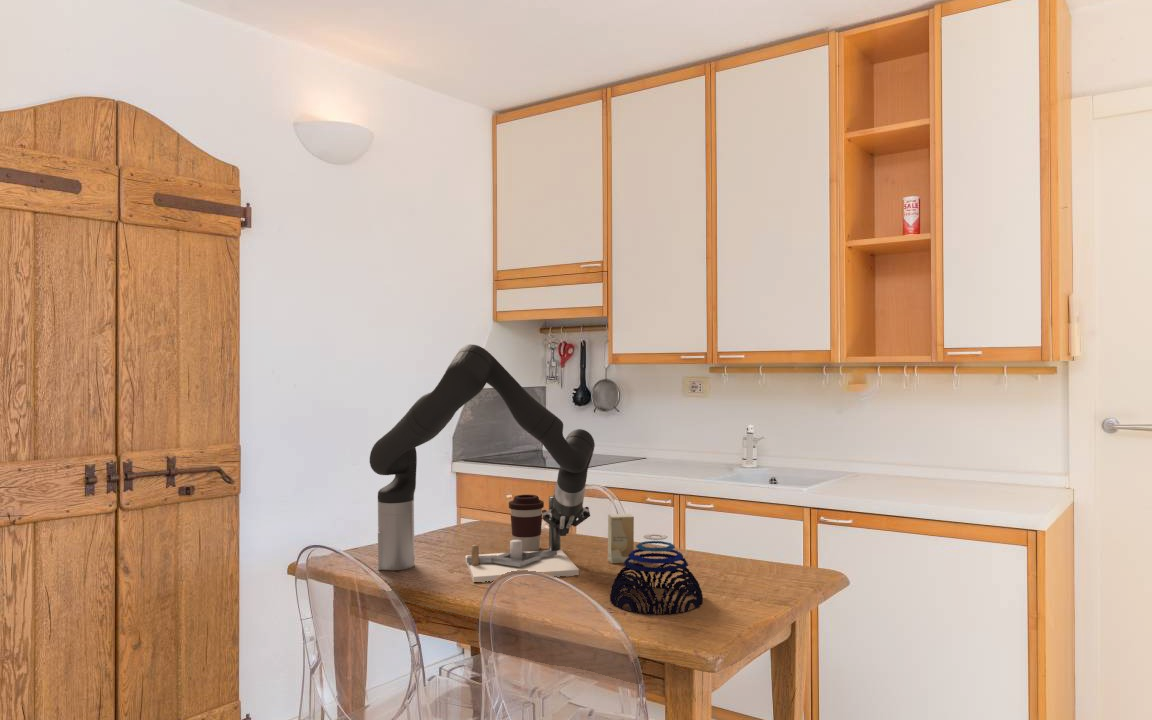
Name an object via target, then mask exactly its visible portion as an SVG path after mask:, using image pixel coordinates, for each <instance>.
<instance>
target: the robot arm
mask: <svg viewBox="0 0 1152 720" xmlns="http://www.w3.org/2000/svg"><path fill="white" fill-rule="evenodd" d="M486 385H489V386H490V387H491V388H493V389H494V390H495V391H496V392H497V393H498V395H499V396H500V397H501V399H502V400H503V401H504V403H505V404H506V407H507V408H508V410H509V411H510V414H511V415H512V417H513V419H514V420H515V421H516V423H517V424H518V426H519V427H521V428H522V429H523V430H524V431H525V432H527V433H528V434H529V435H530V436H532V437H534V439H535V440H537V441H538V442H540V443H541V444H542V445H543V447H544V448H545V450H546V451H547V452H548V454H550V456H551V457H552V458H553V460H554V461H555V462H556V463H557V465H559V468H558V474H557V479H556V483H555V486H554V490H553V491H554V493H553V496H554V499H553V505H552V506H551V507H550V510H549V509H548V510H546V509H542V512H541V514H542V521H544V522H546V523H547V524H548V526H549V525H551V526H552V527H553V528H557V527H558V528H557V529H558V534H560V537H566V536H567V535H568V534H569V533H570V528H571V527H577V526H579V525H580V524H582V523H583V522H585V521H586V520H587V519H588V518H590V517H591V512H590V507H589V506H583V505H584V499H585V494H586V484H587V483H586V482H587V477H588V470H589V466H590V464H591V460H592V457H593V455H594V451H595V445H596V444H595V443H596V442H595V440H594V439H595V438H594V437H593V436H592V434H591V433H590V432H589V431H587V430H586V429H582V428H577V429H575V430H572V431H570V432H569V433H568V435H566V438H565V436H564V435H563V432H564V422H563V421H562V420H561V419H560V418H559V417H558V416H556V415H555V414H554V413H553V412H552V411H550V410H549V409H548V408H546V407H545V406H543V405H542V404H541V403H540V402H539V401H538V400H536V399H535V398H534V397H533V396H532V395H531V394H529V392H527V391H526V390H525V388H524V387H523V386H522V385H521V384H520V383H519V382H518V381H517V380H516V378H514V377H513V375H512V374H510V373H509V372H508V370H507V369H506V368H505V367H504V366H503V365H502V364H501V363H500V362H499V361H498V360H497V359H496V358H495V357H494V356H493V354H492V353H490V352H489V351H488V350H487V349H485V348H484V347H482V346H480V345H478V344H471V343H470V344H465V345H464V346H462V347H461V348H460V349H459V350H458V352H457V353H456V354H455V356H454V357H453V359H452V360H451V362H450V363H449V365H448V367H447V368H446V370H445V371H444V374H443V376H442V378H441V379H440V381H439V382H438V384H436V386H435V388H434V389H433V390H432V391H431V392H428V393H426V394H423V396H420V397H419V399H417V400H416V402H414V404H413V405H412V406H411V407H410V408H409V410H407V412H406V413H405V414H404V415H403V417H402V418H401V419H400V420H399V421H398V422H397V423H396V424H395V425H394V426H393V427H392V428H391V429H389V431H388V432H387V433H386V434H384V435H383V436H382V437H380V439H379V438H378V440H377V441H376V442H375V443H374V444H373V446H372V448H371V451H370V452H369V453H370V454H369V466H370V468H371V469H372V471H373V472H374V473H375V474H377V475H380V476H392V475H395V476H394V478H393V480H391V482H390V483H388V484H387V485H385V486H383V487H382V488H380V489H379V490H378V492H377V557H378V558H377V570H379V571H380V570H381V571H382V570H384V571H399V570H402V571H403V570H406V569H410V568H413V567H414V566H415V565H416V564H415V563H416V562H415V560H416V559H415V557H416V556H415V492H416V488H417V487H416V485H417V467H418V465H417V464H418V463H417V462H418V457H417V449H416V447H419V446H422V445H424V444H426V443H427V442H431V440H433V439H434V438H435V437H436V436H438V435H439V434H440V433H441V432H442V431H443V430H444V428H446V426H447V425H448V424H449V423H450V421H451V420H452V419H453V417H454V416H455V415H456V413H457V412H458V411H459V410H460V409H461V408H462V407H463V406H464V405H466V404H467V403H468V402H469V401H471V400H472V399H474V398H475V397H477V395H479V394H480V393H481V392H482V391H483V389H484V388H485V386H486ZM555 517H556V518H557V519H558V520H557V519H556V518H555Z"/></svg>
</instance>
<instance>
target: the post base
mask: <svg viewBox="0 0 1152 720" xmlns="http://www.w3.org/2000/svg"><path fill="white" fill-rule="evenodd" d="M479 547H480V546H479V544H472V545H471V554H467V555H465V564H466V565H467V568H468V572H469V574H471V575H470V577H471V580H472V582H482V583H492V581H493V580H494V579H496V578H497V577H499V576H501V575H502V574H505V573H507V572H511V571H517V570H528V571H536V572H542V573H547V574H549V575H554V576H557V577H556V578H561V577H560V576H566V577H575V576H574V575H579V576H580V569H579V568H578V567H577V566H576V565H575V563H573V561H572V560H571V559H570V558H569V557H568V556H567V554H566V553H565V552H564V551H563V550H562V549H561V550H558V551H557V555H553V556H547V557H542V558H541V559H540V560H537V561H535V562H532V563H529V564H527V565H524V566H521V567H517V566H510V565H504V564H498V563H491V562H488V563H479V556H491V555H497V556H498V555H501V554H504V553H505V552H497V553H484V554H483V553H482V554H480V553H479V551H480V550H479V549H480V548H479ZM537 551H538V550H536V551H527V552H526V553H531V552H537ZM509 552H510V558H512V559H521V558H522V541H521V540H513V539H512V540H510V541H509ZM468 556H472V563H467V557H468ZM485 581H487V582H485ZM488 581H490V582H488Z"/></svg>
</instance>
